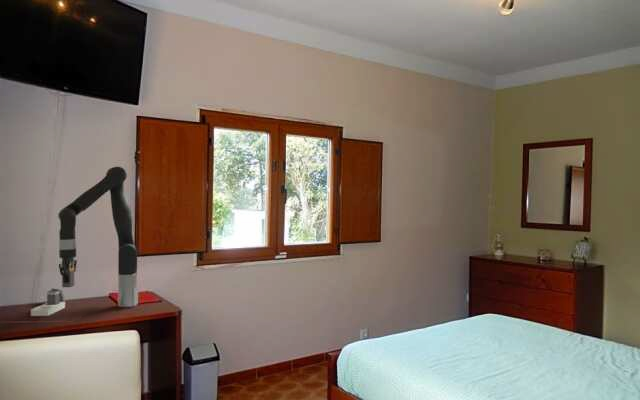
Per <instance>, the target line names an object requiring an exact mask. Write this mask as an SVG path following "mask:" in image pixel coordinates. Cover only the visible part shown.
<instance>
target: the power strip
mask: <svg viewBox="0 0 640 400" xmlns="http://www.w3.org/2000/svg"><path fill="white" fill-rule="evenodd" d="M65 308H66V304H65V302H59V304H57V305H47V302H45V303H43V304H41V305H39V306H36V307H33V308H31V309H30V317H49V316H51V315H53V314H55V313H57V312H59V311H61V310H63V309H65Z"/></svg>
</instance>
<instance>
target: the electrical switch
mask: <svg viewBox="0 0 640 400" xmlns="http://www.w3.org/2000/svg"><path fill="white" fill-rule="evenodd" d="M50 291H60V293H59V302H65V305H66V304H67V302H66V299H65V295H64V293H63V290H62V288H57V287H52V288H51V289H50V290H49V291H47V292H46V294H47V293H48V292H50Z"/></svg>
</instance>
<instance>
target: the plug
mask: <svg viewBox="0 0 640 400" xmlns="http://www.w3.org/2000/svg"><path fill="white" fill-rule="evenodd" d="M62 272H63V271H62ZM66 272H67V271H66ZM61 281H62V284H61V287H62V288H72V287H75V272H74V268H70V270H69V282H68V283H64V281H63V275H61Z"/></svg>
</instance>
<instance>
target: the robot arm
mask: <svg viewBox="0 0 640 400" xmlns="http://www.w3.org/2000/svg"><path fill="white" fill-rule="evenodd" d="M127 177H128V174H127V171H126V168H124V167H122V166H113V167H110V168H109V169H108V170H107V171H106V174H105V176H104V177H103V178H102V179H101V180H100V181H98V182H97V183H96V184H95V185H93V186H91V187H90V188H89V189H87V190H86V191H85V192H83V193H82V194H80V195H79V196H78V197H77V198H75V200H74V201H72V202H71V203H69V204H68V205H66V206H65V207H64V208H62V209H61V210H60V211H59V213H58V219H59V222H60V223H59V224H60V228H59V233H58V234H59V235H58V236H59V242H58V251H59V252H58V253H59V259H62V260H61V263H59V264H58V268H59V272H60V273H59V274H60V276H62V275H63V281H64V283H68V282H69V270H70V268H74V273H75V272H76V270H77V263H78V260H76V259H74V258H77V241H76V223H77V216H79V214H81V213H82V212H84V211H86V210H87V209H88V208H90V207H91V206H92V205H93V204H94V203H95V202H97V201H98V200H99V199H100V198H101V197H102V196H104V195H106V193H107V192H109V193H110V205H111V213H112V218H113V219H112V221H113V224H114V227H115V232H116V234H117V241H118V251H117V252H118V253H117V255H118V263H117V264H118V266H117V267H118V268H117V269H118V272H117V274H118V276H117V277H118V278H117V280H118V283H117V284H118V286H117V300H118V301H117V304H118V305H117V306H118V307H119V308H132V307H135V306H137V305H138V304H139V287H138V286H137V285H138V278H137V277H138V275H137V273H138V249H137V248H136V244H135V241H134V237H133V218H132V210H131V206H130V203H129V200H128V198H127V195H126V192H125V181H126V179H127ZM62 271H63V272H62ZM66 271H67V272H66Z"/></svg>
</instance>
